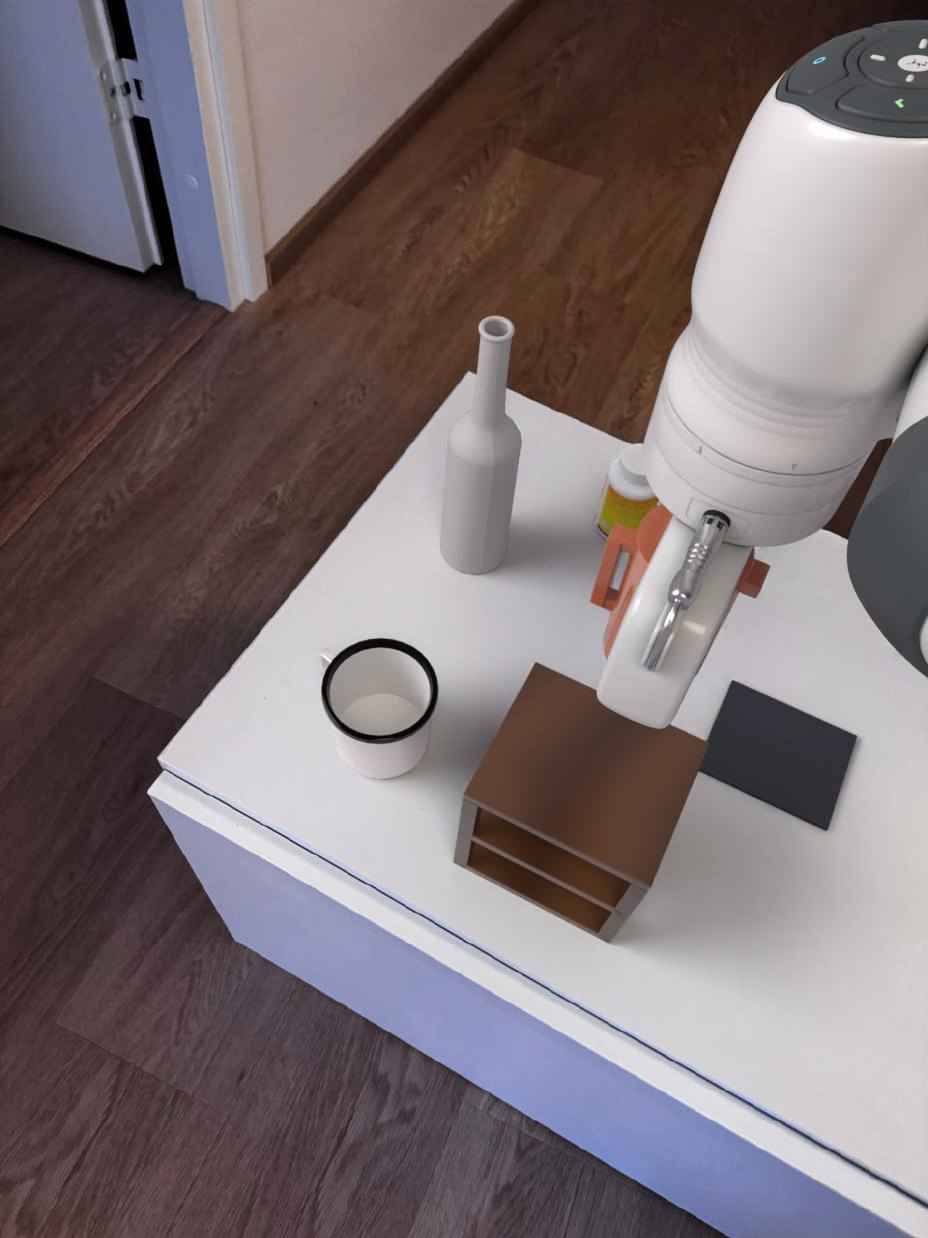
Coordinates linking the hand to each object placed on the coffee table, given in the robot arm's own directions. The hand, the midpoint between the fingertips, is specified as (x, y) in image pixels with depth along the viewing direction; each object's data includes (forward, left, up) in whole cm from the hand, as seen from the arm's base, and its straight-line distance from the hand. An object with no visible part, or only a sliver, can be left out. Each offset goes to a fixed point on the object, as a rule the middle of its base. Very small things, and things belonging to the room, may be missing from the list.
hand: (676, 616), depth 53 cm
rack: (+1, +1, -34) cm, 34 cm away
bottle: (+21, -22, -34) cm, 46 cm away
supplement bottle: (+9, -32, -34) cm, 48 cm away
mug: (+20, 0, -34) cm, 40 cm away
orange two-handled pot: (+1, 0, -4) cm, 4 cm away
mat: (-13, -15, -34) cm, 40 cm away
